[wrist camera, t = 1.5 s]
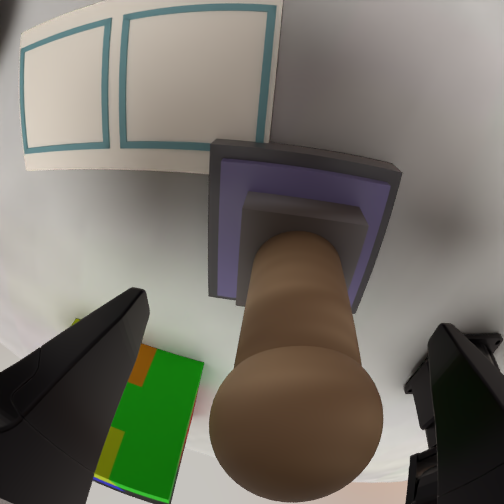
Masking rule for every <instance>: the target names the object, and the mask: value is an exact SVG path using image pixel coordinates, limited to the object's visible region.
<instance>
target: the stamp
mask: <svg viewBox="0 0 504 504" xmlns="http://www.w3.org/2000/svg"><path fill="white" fill-rule="evenodd" d="M368 228H369V225H368V223H367V221H366V219H365V217H364V215H363V213H362V211H361V209H360V207H357V206H352V205H345V204H339V203H333V202H327V201H320V200H313V199H306V198H299V197H292V196H284V195H276V194H268V193H260V192H251V191H248V193H247V196H246V199H245V201H244V204H243V207H242V217H241V231H240V246H239V260H238V276H237V291H236V305H237V306H244V307H245V311H244V316H243V321H242V327H241V332H240V338H239V343H238V348H237V354H236V359H235V364H234V369H233V370H232V371H231V372H230V373H229V374H228V376H227V377H226V378H225V380H224V381H223V383H222V384H221V386H220V387H219V389H218V391H217V393H216V395H215V398H214V400H213V404H212V407H211V411H210V419H209V434H210V440H211V444H212V447H213V450H214V453H215V456H216V458H217V460H218V461H219V463H220V465H221V466H222V468H223V469H224V470H225V472H226V473H227V474H228V475H229V476H230V477H231V478H232V479H233V480H234V481H235V482H236V483H237V484H239V485H240V486H241V487H243V488H244V489H246V490H247V491H250V492H251V493H253V494H255V495H257V496H260V497H263V498H266V499H269V500H274V501H281V502H304V501H311V500H315V499H319V498H322V497H325V496H328V495H330V494H332V493H334V492H336V491H338V490H340V489H342V488H343V487H345V486H346V485H348V484H349V483H351V482H352V481H353V480H354V479H355V478H356V477H357V476H358V475H359V474H360V473H361V472H362V471H363V470H364V469H365V468H366V466H367V465H368V464H369V462H370V461H371V459H372V457H373V456H374V454H375V452H376V449H377V447H378V445H379V442H380V438H381V434H382V429H383V408H382V402H381V398H380V395H379V393H378V390H377V388H376V386H375V383H374V382H373V380H372V379H371V377H370V376H369V374H368V373H367V372H366V371H365V369H364V368H363V367H362V365H361V358H360V353H359V347H358V341H357V336H356V330H355V325H354V320H353V315H352V310H351V305H350V301H349V296H348V290H349V287H350V284H351V281H352V278H353V275H354V272H355V269H356V266H357V263H358V260H359V257H360V254H361V251H362V248H363V244H364V241H365V238H366V235H367V231H368Z"/></svg>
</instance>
